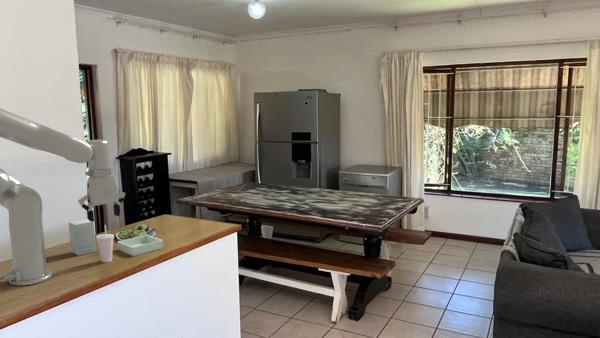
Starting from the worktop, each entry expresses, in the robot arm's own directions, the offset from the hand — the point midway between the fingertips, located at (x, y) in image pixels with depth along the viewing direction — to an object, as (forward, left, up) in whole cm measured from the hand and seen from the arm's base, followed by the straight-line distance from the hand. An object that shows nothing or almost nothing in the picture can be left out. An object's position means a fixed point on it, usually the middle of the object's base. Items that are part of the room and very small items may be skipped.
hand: (104, 218), depth 166 cm
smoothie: (0, 0, -17) cm, 17 cm away
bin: (+15, +3, -16) cm, 23 cm away
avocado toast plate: (+24, +22, -17) cm, 37 cm away
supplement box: (-1, +18, -17) cm, 25 cm away
